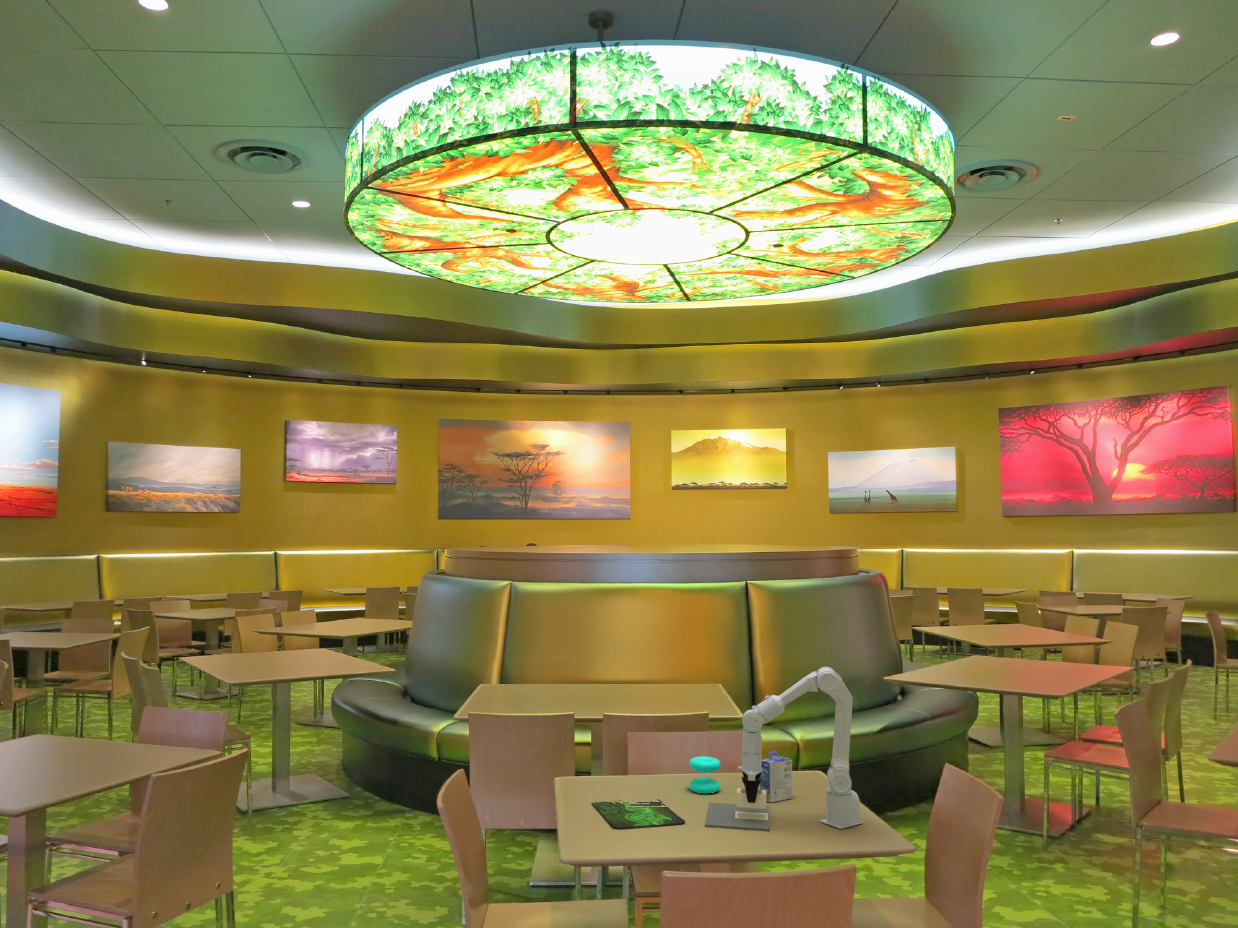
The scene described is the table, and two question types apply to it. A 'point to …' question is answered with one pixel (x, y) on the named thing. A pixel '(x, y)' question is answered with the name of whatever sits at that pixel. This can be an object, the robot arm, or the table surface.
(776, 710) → the robot arm
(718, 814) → the mat
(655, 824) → the mouse mat
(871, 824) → the table surface
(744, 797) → the card deck
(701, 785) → the donuts
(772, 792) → the ink cartridge box
